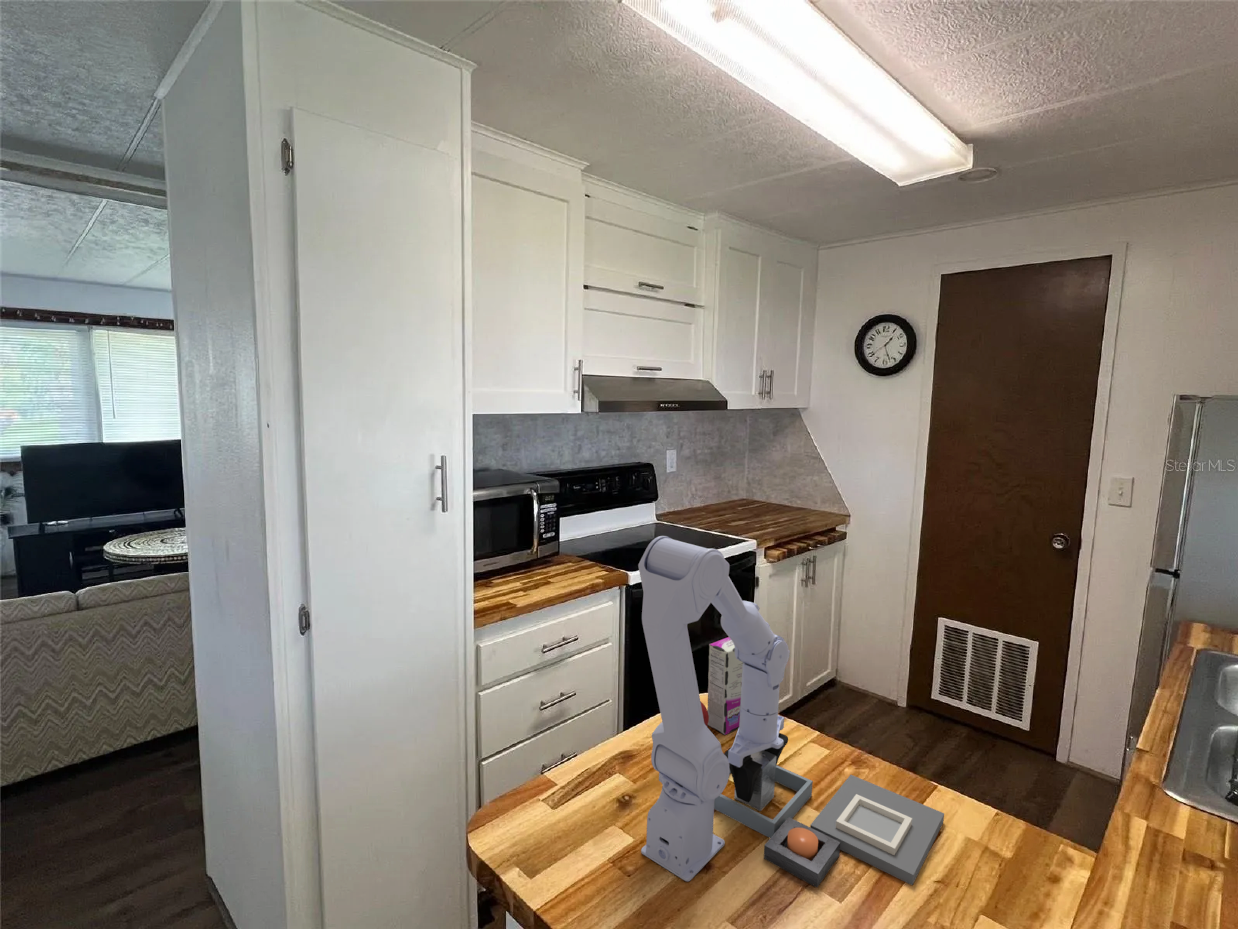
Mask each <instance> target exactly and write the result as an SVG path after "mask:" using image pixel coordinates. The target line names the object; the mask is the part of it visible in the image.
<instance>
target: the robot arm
mask: <svg viewBox="0 0 1238 929" xmlns="http://www.w3.org/2000/svg"><path fill="white" fill-rule="evenodd" d="M637 566H638V567H637V568H638V572H639V576H640V582H641V586H642V590H643V595H642V596H643V597H642V609H641V611H642V612H641V624H642V628H643V633H644V638H645V643H646V648H647V652H648V653H647V654H648V658H649V662H650V667H651V672H652V673H651V674H652V677H653V684H654V687H655V692H656V698H657V702H658V707H659V712H660V717H661V722H660V723H659V724H658V725H657V726H656V728H655V729H654V730H653V732H652V734H651V738H652V750H651V755H650V756H651V758H650V759H651V761H650V762H651V764H652V767H653V769H654V770H656V771H657V772H658V781H659V782H660V783H661V784H662V787H661V790H660V795H659V796H658V798H657V800H656V801H655V803H654V804H653V805H652V806H651V808H649V811H648V813H647V816H646V817H647V818H646V819H647V820H646V841H645V842H646V844H645V845H644V846H643V847H642V848H641V850H640V853H641V854H642V855H643V856H645V857H647V858H648V859H650V860H652V861H653V862H655V863H656V864H658V865H659V866H661V867H662V868H664V869H665V870H667V871H669V872H670V873H672V874H673V875H675V876H677V877H678V878H680V879H681V880H683V881H685V882H691V880H692V879H693V878H694V877H695V876H696V875H697V874H698V873H699V872H700V871H701V870H702V869H703V868H704V867H705V866H706V865H707V864H708V862H709V861H710V860H712V859H713V858H714V857H715V855H716V854H717V853H718V852H719V851H720V850H721V849H722V848H723V847H724V846H725V843H726V842H725V840H724V839H723V838H721V837H719V836H718V835H716V834H714V818H715V817H714V816H715V809H714V801H715V798H717V797H718V796H719V795H720V794H722V793H723V792H724V790H725V788H726V787H727V784H728V782H729V779H730V778H729V777H730V774H731V777H732V780H733V785H734V791H735V790H736V795H737V798H739V799H741V800H744V801H746V802H748V803H749V802H750V801H751V798H752V795H753V790H754V784H755V780H756V777H757V774H758V772H759V770H760V768H761V767H762V766H763V765H762V764H759V763H757V762H755V761H753V758H751V754H754V753H757V752H760V751H762V750H764V751H766V752H769V753H771V754H773V755H776V765H777V766H778V763H779V759H780V757H781V754H782V752H783V750H784V749H785V747H786V746H787V744H788V743H789V737H788V736H787V735H786V734H783V733H780V732H781V731H782V730H783V729H784V728H785V727H784V726H785V717H784V716H782V715H779V704H780V703H779V700H780V685H781V683H782V682H783V680H784V678H785V671H786V670H785V669H786V666H788V665H787V664H788V662H789V660H790V659H789V658H790V654H791V650H790V649H789V645H788V643H787V642H786V641H785V639H784V637H783V636H781V635H778V634H776V633H774V631H773V630H772V628H771V626H770V623H769V622H767V621H766V620H765V618H764V617H763V615H762V614H761V612H760V607H759V605H758V603H755V602H752V601H747V600H743V599H742V597H741V596H740V593H739V592H738V590H737V588H736V587H735V584H734V582H732V579H731V578H730V576H729V574H730V563H729V562H728V561H727V560H726V559H725V556H724V554H723V553H722V552H721V551H720V550H719V549H716V548H707V547H704V546H699V545H695V544H692V543H687V542H684V541H680V540H677V539H673V538H671V537H670V536H667V535H660V536H657V537H655V538H654V539H652V540H651V541H650V543H649V544H648V545H647V547H646V549H645V551H644V552H643V555H642V556H641V558H640V560H639V563H638V564H637ZM711 604H712V605H713V607H714V608H715V609H716V610H717V611H718V612H719V614H721V617H720V626H721V628H722V630H723V631H724V632H725V633H726V635H727V636H728V637H729V638H730V639H731V640H732V642H733V644H734V646H735V657H736V659H738V660H739V661H742V662H743V665H742V684H741V704H740V723H739V728H738V729H737V732H736V735H735V738H734V740H733V744H732V746H730V748H729V749H727V750H726V751H725V752H723V749H722V745H721V742H720V740H719V739H718V738H717V737H716V736H715V734H713V732H712V731H711V730H710V729H709V728H708V725H707V726H706V725H705V724H704V719H703V713H702V708H701V702H702V701H701V697H700V692H699V686H698V680H697V673H696V670H695V664H694V658H693V653H692V652H693V651H692V647H691V642H690V636H689V630H688V624H691V623H692V624H693V623H695V622H698V621H699V620H700V619H701V617H702V615H703V614H704V613H705V611H706V610H707V609H708V607H709V606H710V605H711ZM700 701H701V702H700ZM730 772H731V773H730ZM729 773H730V774H729Z"/></svg>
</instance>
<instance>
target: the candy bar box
mask: <svg viewBox="0 0 1238 929" xmlns="http://www.w3.org/2000/svg"><path fill="white" fill-rule="evenodd" d="M742 665H743V662H742V661H739V660H738V659H736V657H735V646H734V644H733V642H732V640H731V639H730V638H729V636H728V637H725V638H722V639H720V640H717V641H714V642H712V643H709V644H708V675H707V676H708V677H707V678H708V680H707V682H708V683H707V685H708V686H707V707H706V709H707V711H708V715H709V722H708V725H707V727H708V726H709V727H710V728H712V729H713V730H715V731H717V732H718V733H720V734H723V735H724V736H725V735H728V734H730V733H733V732H735V731H736V730H738V728H739V723H740V704H741V684H742Z"/></svg>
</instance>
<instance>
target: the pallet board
mask: <svg viewBox="0 0 1238 929" xmlns="http://www.w3.org/2000/svg"><path fill="white" fill-rule="evenodd" d="M944 820H945V813H944V812H942V811H940V810H937V809H935V808H933V807H930V806H927V805H925V804H922V803H920V802H918V801H916V800H913V799H910V798H908V797H906V796H904V795H901V794H898V793H897V792H894V791H892V790H889V789H886V788H884V787H881V786H880V785H877V784H874V783H873V782H870V781H868V780H866V779H862V778H860V777H858V776H856V775H852V774H850V775H849V776H848V777H847V778H846V780H845V781H844V782H843V784H842V785H841V786H840V787H839V789H837V791H836V792H835V794H834V795H833V796H832V797H831V798H830V800H829V801H828V802H827V803H826V805H825V806H824V807H823V808H822V810H821V811H820V812H819V814H818V815H817V816H816V817H815V819H814V820H813V821H812V822H811V823H810V825H809V827H810V828H812V829H814V830H816V831H818V832H821V833H823V834H825V835H827V836H829V837H831V838H833V839H835V840H837V841H839V842H840V851H843V852H844V853H846V854H848V855H851V856H852V857H854V858H856V859H859V860H860V861H862V862H865V863H866V864H868V865H870V866H873V867H875V868H877V869H878V870H881V871H882V872H885V873H886V874H888V875H891V876H892V877H895V878H897V879H898V880H900V881H902V882H905V883H907V884H909V885H911V886H913V885H914V884H915V882H916V880H917V877H918V875H919V873H920V871H921V869H922V867H923V865H924V862H925V861H926V859H927V857H928V855H929V853H930V851H931V848H932V846H933V845H934V843H935V841H936V839H937V836H938V834H939V832H940V830H941V829H942V827H943V824H944Z"/></svg>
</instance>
